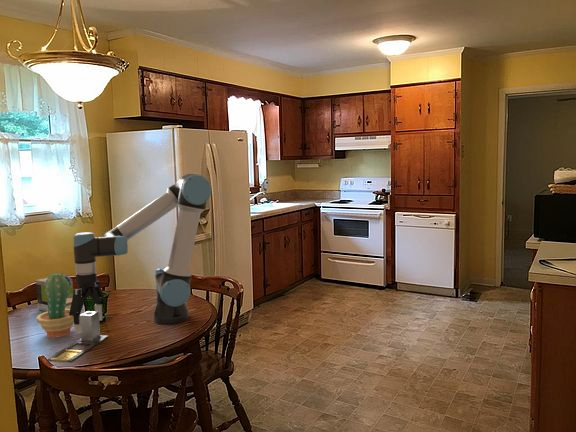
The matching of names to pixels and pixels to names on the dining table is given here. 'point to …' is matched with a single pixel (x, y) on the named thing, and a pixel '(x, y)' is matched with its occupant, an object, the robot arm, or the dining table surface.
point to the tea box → (42, 294)
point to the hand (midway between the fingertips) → (89, 326)
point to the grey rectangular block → (90, 327)
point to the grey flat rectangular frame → (74, 354)
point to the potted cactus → (56, 306)
